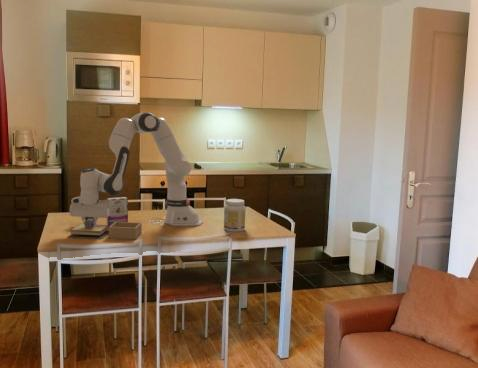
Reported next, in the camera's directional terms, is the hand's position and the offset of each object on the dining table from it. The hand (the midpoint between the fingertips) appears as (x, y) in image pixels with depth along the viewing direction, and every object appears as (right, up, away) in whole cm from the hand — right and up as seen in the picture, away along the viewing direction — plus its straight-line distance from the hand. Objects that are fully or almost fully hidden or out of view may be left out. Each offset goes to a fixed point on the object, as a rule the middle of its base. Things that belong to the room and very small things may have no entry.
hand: (89, 225), depth 257 cm
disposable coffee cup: (-6, -2, +22) cm, 23 cm away
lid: (0, -3, 0) cm, 3 cm away
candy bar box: (+10, -3, +19) cm, 22 cm away
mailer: (+19, -6, 0) cm, 20 cm away
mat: (0, -5, +1) cm, 5 cm away
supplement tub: (+76, -5, +22) cm, 79 cm away
